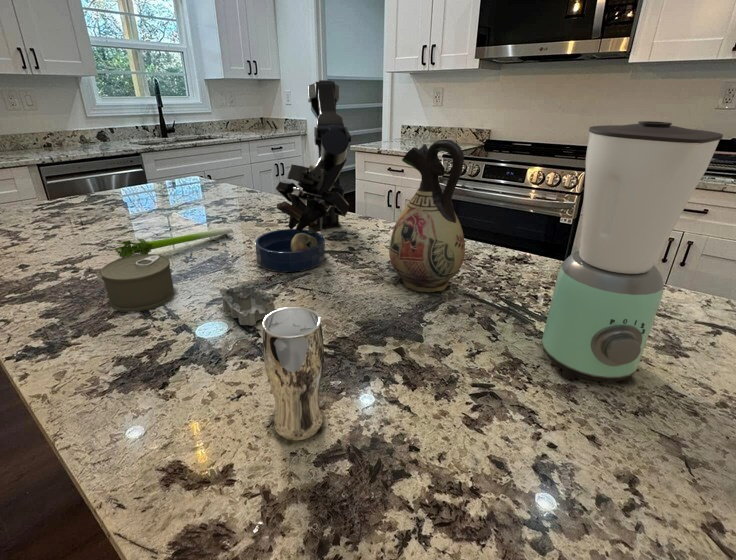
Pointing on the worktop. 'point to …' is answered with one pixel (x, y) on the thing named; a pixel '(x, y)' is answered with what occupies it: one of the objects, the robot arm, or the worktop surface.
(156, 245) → the celery stalk
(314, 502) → the worktop surface
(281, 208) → the dark brown piece
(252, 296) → the egg carton
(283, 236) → the bowl
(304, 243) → the apple
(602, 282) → the blender
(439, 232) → the ceramic jug
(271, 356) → the beer glass
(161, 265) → the can
